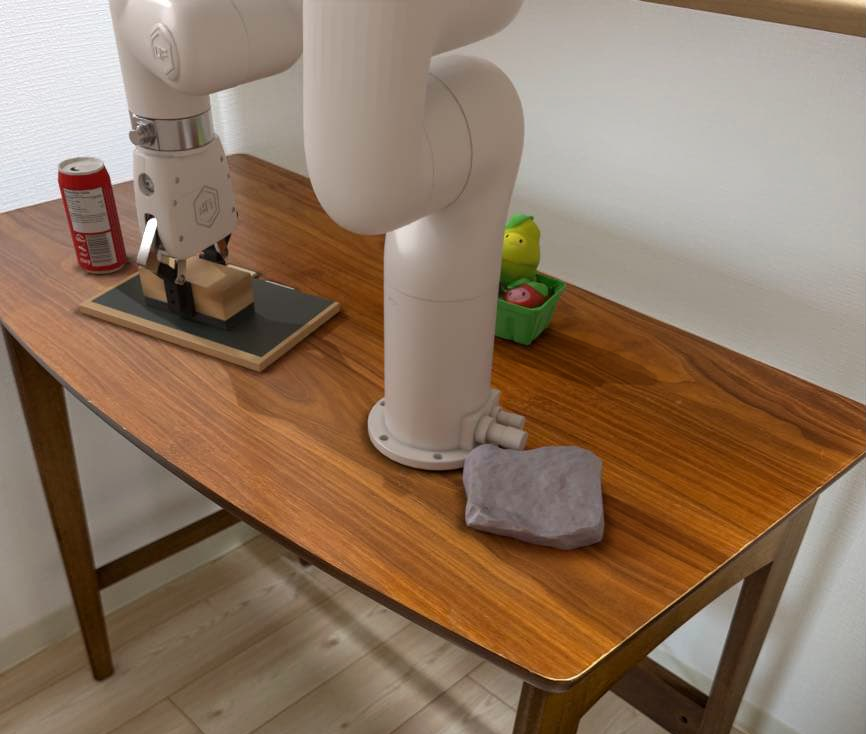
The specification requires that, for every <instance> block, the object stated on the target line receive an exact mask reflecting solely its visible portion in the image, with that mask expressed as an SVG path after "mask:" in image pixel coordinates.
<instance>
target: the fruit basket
mask: <svg viewBox="0 0 866 734" xmlns="http://www.w3.org/2000/svg"><path fill="white" fill-rule="evenodd" d="M534 219H535V217H534V216H533V215H529V214H528V215H525V214H523V213H515V214H513V216H512V217H510V219H509V220H508V223H506V226H505V233H504V241H503V250H502V260H501V272H500V280H499V289H498V301H497V313H496V325H495V336H494V337H498V338H501V339H504V340H510V341H513V342H515V343H518V344H521V345H524V346H529V345H531V343H532V341H534V340H536V339H537V338H538V337H540V335H541V334H542V333H543V331H544V330H545V329H547V328H548V327H549V324H550V323H551V320H552V318H553V315H554V312H555V311H556V308H557V305H558V303H559V301H560V299H561V298H560V297H561V296H562V295H563V293H564V291H565V289H566V287H567V284H566V282H565V281H563V280H560V279H557V278H553V277H550V276H547V275H544V274H540V273H537V270H538V267H539V265H540V261H541V247H540V240H541V230H540V228H539V226H538V225H537V224H536V222H535V221H534Z"/></svg>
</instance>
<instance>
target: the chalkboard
mask: <svg viewBox="0 0 866 734" xmlns="http://www.w3.org/2000/svg"><path fill="white" fill-rule="evenodd" d="M251 281H252V290H253V299H254V308H255V312H253V313H252V314H251V315H249V316H248V317H246V318H245V319H243V320H242V321H241V322H239V323H238V324H236V325H235V326H233V327H232V328H230V329H229V330H228V331H225V330H222V329H219V328H216V327H213V326H209V325H206V324H203V323H200V322H197V321H194V320H191V319H188V318H184V317H181V316H178V315H175V314H172V313H169V312H166V311H163V310H159V309H156V308H153V307H150V306H147V305H146V304H145V299H144V294H143V289H142V284H141V279H140V274H139V270H137V271H136V272H134V273H132V274H130V275H129V276H127V277H125V278H123V279H122V280H120V281H118V282H116V283H114V284H113V285H111V286H109V287H107V288H106V289H104V290H102V291H100V292H98V293H97V294H94V295H93V296H91V297H89V298H87V299H86V300H84V301H82V302H81V303H79V304H78V306H79V310H80V313H82V314H85V315H87V316H90V317H94V318H97V319H100V320H102V321H105V322H108V323H112V324H115V325H118V326H121V327H124V328H126V329H130V330H133V331H136V332H139V333H141V334H144V335H148V336H151V337H153V338H157V339H160V340H163V341H165V342H168V343H171V344H174V345H177V346H181V347H182V348H186V349H189V350H192V351H196V352H199V353H201V354H204V355H207V356H210V357H213V358H216V359H219V360H222V361H225V362H229V363H231V364H234V365H238V366H241V367H243V368H246V369H249V370H252V371H255V372H258V373H261V372H263V371H264V370H265V369H267V368H268V367H269V366H270V365H272V364H273V363H275V362H276V360H278V359H279V358H280V357H281V358H282V356H283V355H285V354H286V353H287V352H289V351H290V350H291V349H293V348H294V347H295V346H296V345H298V344H299V343H300V342H302V341H303V340H305V339H306V338H307V337H308V336H309V335H310V334H312V333H313V332H315V331H316V330H317V329H319V328H320V327H321V326H322V325H324V324H325V323H326V322H327V321H329V320H330V319H332V317H334V316H335V315H337V313H339V312H340V311H341V309H340V306H341V305H340V304H341V303H340V302H338V301H334V300H331V299H328V298H324V297H321V296H317V295H313V294H311V293H307V292H305V291H301V290H297V289H295V288H293V289H290V288H291V287H290V288H287V287H288V286H287V287H284V286H285V285H283V286H280V285H281V284H280V285H277V284H278V283H276V284H273V283H274V282H273V283H270V282H271V281H270V282H266V281H267V280H264V279H259V278H257V277H251ZM294 289H295V290H294Z"/></svg>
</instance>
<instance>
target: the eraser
mask: <svg viewBox="0 0 866 734" xmlns="http://www.w3.org/2000/svg"><path fill="white" fill-rule="evenodd" d="M174 263H175V259H174V258H171V257H169V266H171V267H172V268H174ZM137 266H138V265H137ZM137 269H138V271H139V274H140V279H141V284H142V289H143V294H144V299H145V304H146V305H147V306H150V307H153V308H156V309H159V310H163V311H166V312H169V313H172V312H170V310H169V309H168V303H167V298H166V292H165V287H164V281H163V280H162V279H159V278H158V276H157V275H155V274H153V273H152V272H150V271H149V270H146V269H144V268H142V267H140V266H138V267H137ZM186 281H189V282H190V283H191V289H192V295H193V301H194V308H195V316H194V317H192V318H188V317H185V316H182V315H178V314H175V313H172V314H175V315H178V316H181V317H184V318H188V319H191V320H194V321H197V322H200V323H203V324H206V325H209V326H213V327H216V328H219V329H222V330H225V331H228V330H229V329H230V328H232V327H233V326H235V325H236V324H238V323H239V322H241V321H242V320H243V319H245V318H246V317H248V316H249V315H251V314H252V313H253V312H255V308H254V299H253V290H252V281H251V273H248V272H245V271H241V270H238V269H235V268H231V267H228V266H227V265H226V266H224V265H221V264H217V263H214V262H210V261H207V260H204V259H200V258H199V257H196V256H192V257H190V258H188V259H186Z"/></svg>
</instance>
